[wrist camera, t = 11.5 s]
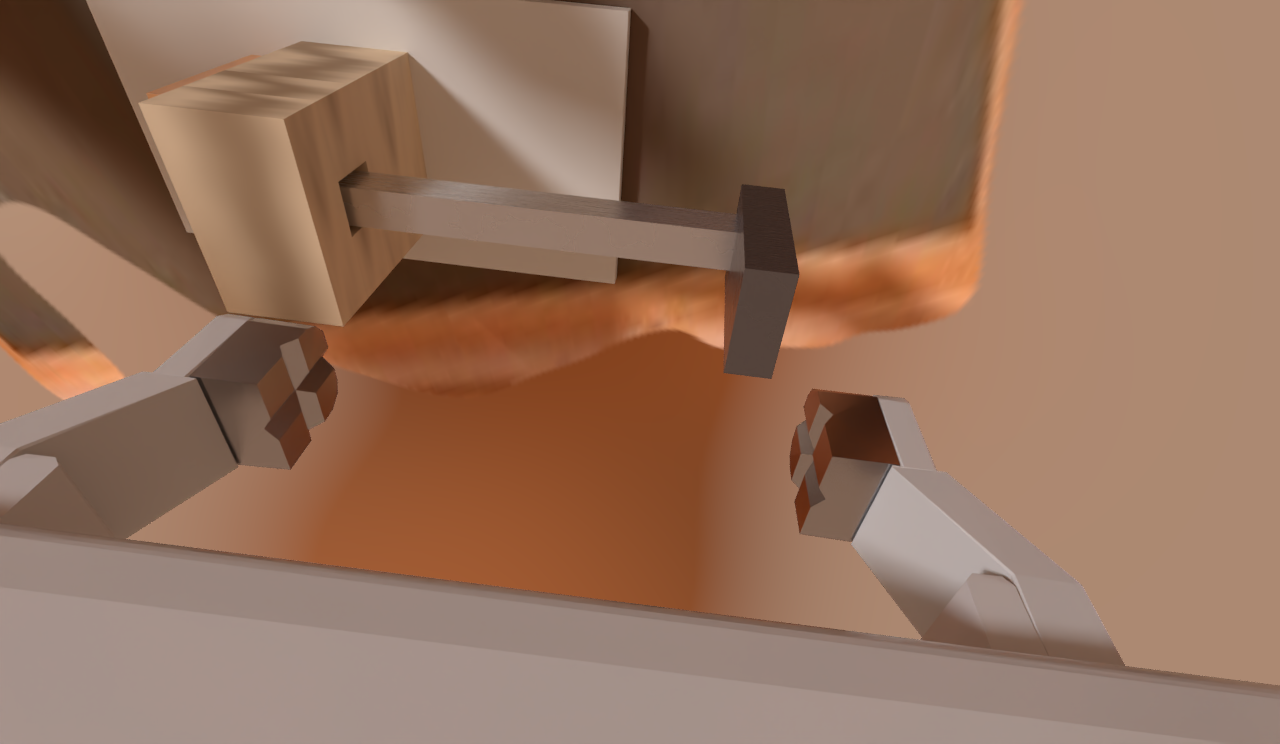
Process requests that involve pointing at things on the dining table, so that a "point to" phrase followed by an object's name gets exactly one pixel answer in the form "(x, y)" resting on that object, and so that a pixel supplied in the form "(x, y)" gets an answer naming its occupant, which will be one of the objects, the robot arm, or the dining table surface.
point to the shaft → (613, 241)
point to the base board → (431, 90)
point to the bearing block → (291, 174)
